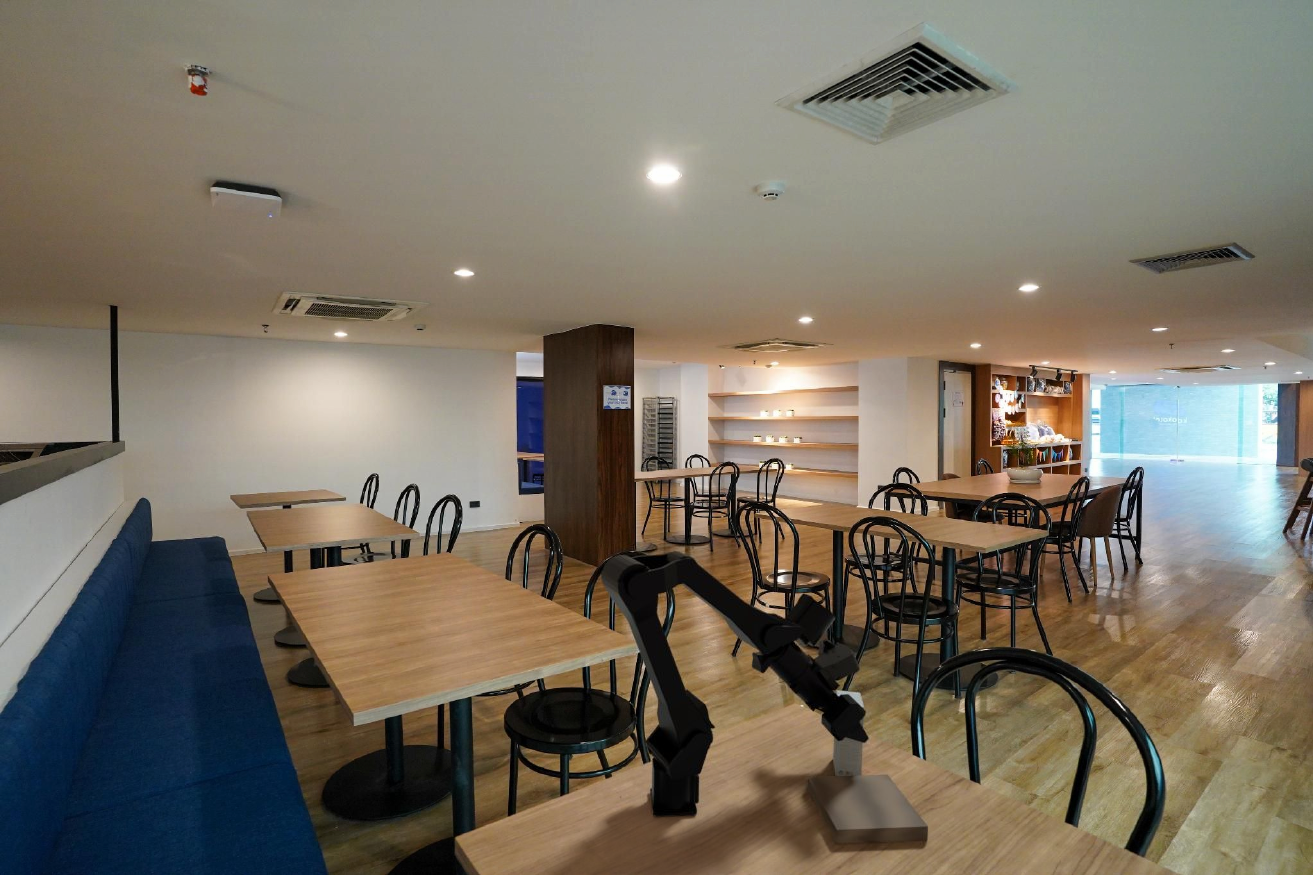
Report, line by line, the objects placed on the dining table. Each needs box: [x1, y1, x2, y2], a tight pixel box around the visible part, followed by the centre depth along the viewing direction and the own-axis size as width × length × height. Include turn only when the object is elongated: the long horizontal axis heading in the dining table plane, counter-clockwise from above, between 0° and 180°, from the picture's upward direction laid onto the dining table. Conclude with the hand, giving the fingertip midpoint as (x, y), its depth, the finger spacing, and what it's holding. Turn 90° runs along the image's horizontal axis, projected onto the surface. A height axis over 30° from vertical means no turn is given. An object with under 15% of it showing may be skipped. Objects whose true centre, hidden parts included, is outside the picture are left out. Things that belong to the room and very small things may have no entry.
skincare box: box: [832, 689, 865, 776], centre depth 110 cm, size 6×4×12 cm
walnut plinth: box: [806, 774, 929, 845], centre depth 98 cm, size 13×13×2 cm
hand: (856, 729), depth 110 cm, fingers closed on skincare box, 7 cm apart
